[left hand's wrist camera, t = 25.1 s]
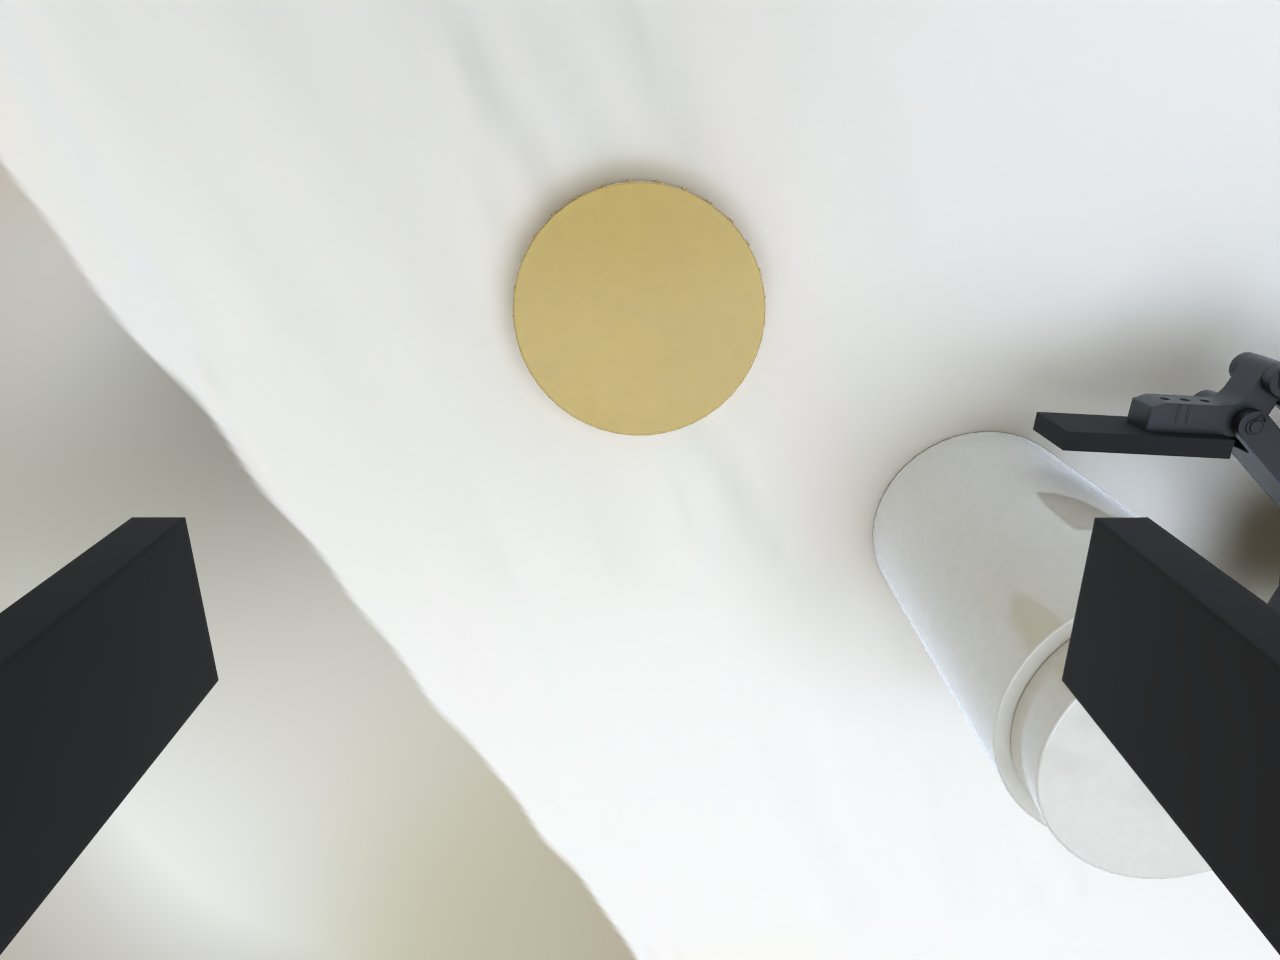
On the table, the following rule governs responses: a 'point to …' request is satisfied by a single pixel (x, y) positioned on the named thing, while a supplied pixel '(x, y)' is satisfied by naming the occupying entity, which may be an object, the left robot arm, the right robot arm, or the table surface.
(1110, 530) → the left robot arm
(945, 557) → the jar
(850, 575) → the table surface
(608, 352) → the lid
